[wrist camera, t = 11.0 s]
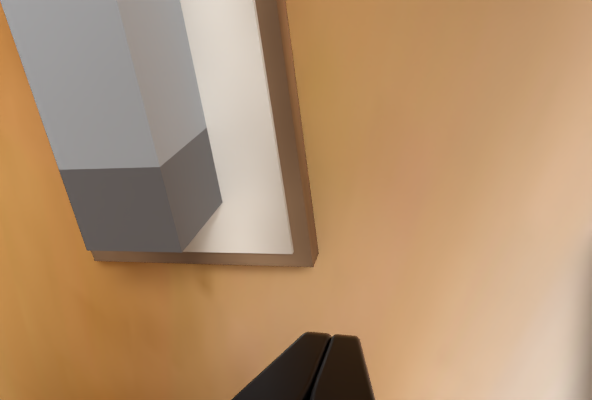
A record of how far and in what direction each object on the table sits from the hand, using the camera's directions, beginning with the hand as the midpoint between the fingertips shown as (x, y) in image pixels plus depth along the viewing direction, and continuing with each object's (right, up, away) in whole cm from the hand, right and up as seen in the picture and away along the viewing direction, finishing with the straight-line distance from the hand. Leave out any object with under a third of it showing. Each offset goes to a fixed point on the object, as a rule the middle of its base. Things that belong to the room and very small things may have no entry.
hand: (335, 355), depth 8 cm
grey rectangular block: (-6, +9, +10) cm, 14 cm away
